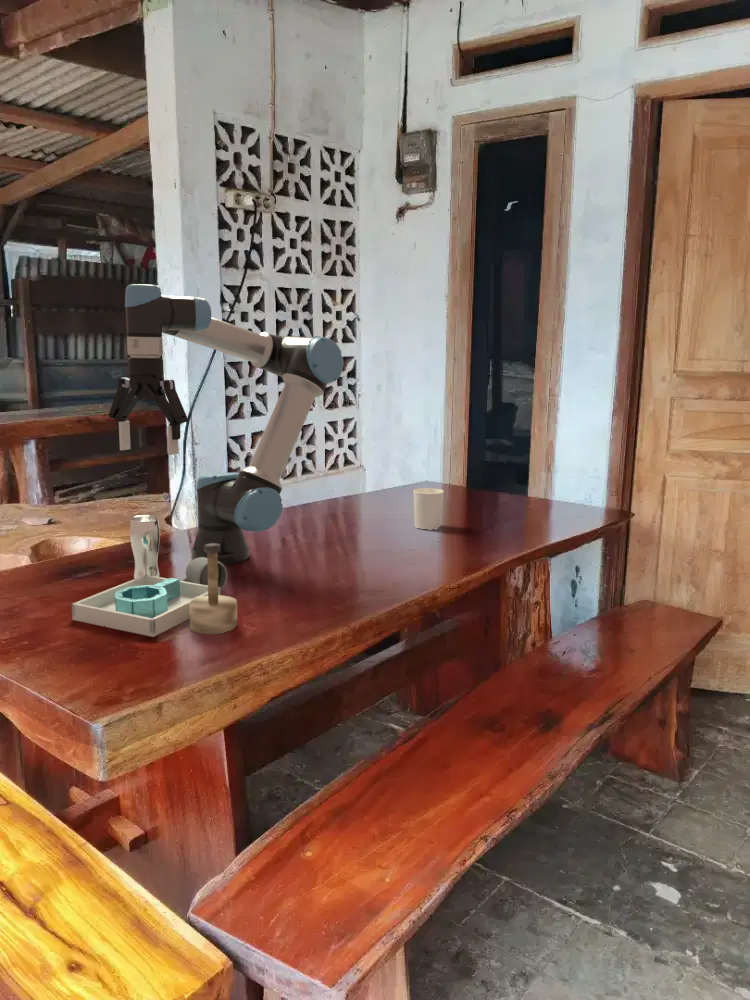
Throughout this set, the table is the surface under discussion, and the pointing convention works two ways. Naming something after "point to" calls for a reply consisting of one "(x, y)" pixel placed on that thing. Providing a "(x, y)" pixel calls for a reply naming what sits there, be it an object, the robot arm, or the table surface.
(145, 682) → the table surface
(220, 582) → the ceramic mug
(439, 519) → the candle holder
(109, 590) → the tray
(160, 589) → the ring
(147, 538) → the beer glass
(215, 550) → the wooden peg stand
